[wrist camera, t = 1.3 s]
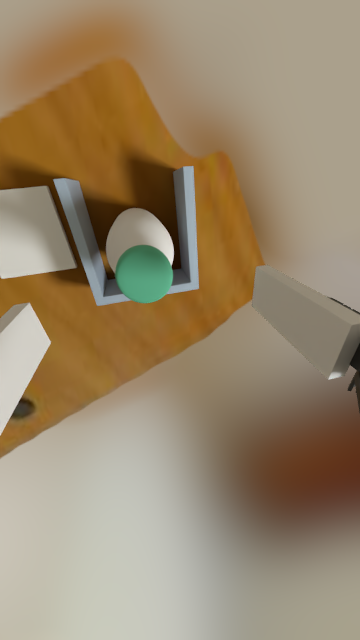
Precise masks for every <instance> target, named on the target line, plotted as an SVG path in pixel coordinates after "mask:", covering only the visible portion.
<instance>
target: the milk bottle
mask: <svg viewBox="0 0 360 640" xmlns="http://www.w3.org/2000/svg"><path fill="white" fill-rule="evenodd" d="M106 254H107V259H108V262H109V264H110V266H111V268H112V270H113V271H114V273H115V278H116V283H117V285H118V287H119V289H120V290H121V292H122V293H123V294H124V295H125V296H126V297H127V298H129V299H131V300H133V301H135V302H139V303H151V302H154V301H157V300H159V299H161V298H162V297H163V296H164V295H165V294H166V293H167V292H168V291H169V289H170V287H171V284H172V281H173V270H172V267H171V266H172V263H173V258H174V248H173V243H172V239H171V237H170V235H169V233H168V231H167V230H166V228H165V227H164V226H163V224H162V223H161V222H160V221H159V220H158V219H157V218H156V217H155V216H154V215H153V214H152V213H150V212H149V211H147V210H144V209H141V208H131V209H128V210H125V211H124V212H122V213H121V214H120V215H119V216H118V217H117V218H116V220H115V221H114V223H113V225H112V227H111V229H110V231H109V234H108V237H107V241H106Z"/></svg>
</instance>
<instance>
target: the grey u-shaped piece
mask: <svg viewBox="0 0 360 640" xmlns="http://www.w3.org/2000/svg"><path fill="white" fill-rule="evenodd" d="M173 178H174V190H175V201H176V212H177V223H178V235H179V246H180V257H181V269H175V270H173V281H172V284H171V287H170V289H169V291H168V292H167V293H166V294H171V293H177V292H183V291H188V290H194V289H199V281H198V259H197V236H196V214H195V191H194V169H193V166H187V167H182V168H180V169H178V170H176V171H174V172H173ZM53 180H54V183H55V186H56V189H57V192H58V195H59V197H60V200H61V203H62V206H63V209H64V212H65V215H66V218H67V220H68V223H69V226H70V229H71V232H72V235H73V238H74V240H75V243H76V246H77V249H78V252H79V255H80V258H81V261H82V263H83V266H84V269H85V272H86V275H87V278H88V281H89V283H90V286H91V289H92V292H93V295H94V298H95V301H96V304H97V306H100V305H106V304H111V303H117V302H123V301H129V300H131V299H129V298H127V297H126V296H125V295H124V294H123V293H122V292H121V290H120V289H119V287H118V285H117V283H116V279H111V280H108V279H107V275H106V272H105V269H104V265H103V262H102V258H101V255H100V252H99V248H98V245H97V241H96V238H95V235H94V231H93V228H92V224H91V221H90V218H89V214H88V211H87V207H86V204H85V201H84V197H83V194H82V190H81V187H80V184H79V181H76V180H71V179H66V178H61V179H53Z"/></svg>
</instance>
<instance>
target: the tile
mask: <svg viewBox="0 0 360 640" xmlns="http://www.w3.org/2000/svg"><path fill="white" fill-rule="evenodd" d="M77 267H78V266H77V263H76V261H75V258H74V255H73V252H72V250H71V247H70V244H69V241H68V239H67V236H66V233H65V230H64V228H63V225H62V222H61V219H60V217H59V214H58V211H57V208H56V206H55V203H54V200H53V198H52V195H51V192H50V189H49V187H48V186H39V187H29V188H19V189H9V190H0V276H1V278H2V279H4V278H11V277H18V276H25V275H32V274H39V273H45V272H52V271H59V270H66V269H73V268H77Z"/></svg>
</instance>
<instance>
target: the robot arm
mask: <svg viewBox="0 0 360 640" xmlns="http://www.w3.org/2000/svg"><path fill="white" fill-rule="evenodd" d="M252 307H253V308H254V309H255V310H256V311H257V312H259V313H260V314H261V315H262V316H263V317H264V318H265V319H266V320H267V321H268V322H269V323H270V324H271V325H272V326H273V327H274V328H275V329H276V330H277V331H278V332H279V333H280V334H281V335H282V336H284V337H285V339H287V340H288V341H289V342H290V343H291V344H292V345H293V346H294V347H295V348H296V349H297V350H298V351H299V352H300V353H301V354H302V355H303V356H304V357H305V358H306V359H307V360H308V361H309V362H310V363H311V364H313V365H314V366H315V367H316V368H317V369H318V370H319V371H320V372H321V373H322V374H323V375H324V376H325V377H326V378H327V379H333V378H337V377H341V376H345V373H346V372H347V370H348V368H349V366H350V365H351V366H352V367H353V368H355V369H356V370H357V372H356V373H355V375H354V377H353V379H352V381H351V383H350V385H349V387H348V391H351V390H352V388H353V387H355V386H356V393H357V399H358V406H359V412H360V313H359V312H357V311H356V310H354V309H353V310H352V309H351V308H350V307H348V306H346V305H343V304H342V303H341V302H339V301H337V300H335V299H333V298H329V297H326V296H324V295H322V294H320V293H319V292H317V291H315V290H313V289H311V288H309V287H307V286H306V285H304V284H302V283H300V282H298V281H296V280H294V279H293V278H291V277H289V276H287V275H285V274H284V273H281V272H280V271H278V270H276V269H274V268H273V267H271V266H269V265H265V266H258V267H256V273H255V282H254V291H253V300H252ZM50 343H51V342H50V340H49V338H48V336H47V334H46V332H45V331H44V329H43V327H42V325H41V323H40V321H39V320H38V318H37V316H36V314H35V312H34V310H33V309H32V307H31V305H30V303H24V304H18V305H14V306H13V307H12V308H11V309H10V310H9V311H7V312H6V313H5V314H4V315H3V316H2V317H1V318H0V435H1V433H2V431H3V429H4V428H5V426H6V424H7V422H8V420H9V418H10V417H11V415H12V413H13V411H14V409H15V407H16V406H17V404H18V402H19V400H20V398H21V396H22V395H23V393H24V391H25V389H26V387H27V385H28V384H29V382H30V380H31V378H32V376H33V374H34V373H35V371H36V369H37V367H38V365H39V363H40V362H41V360H42V358H43V356H44V354H45V352H46V351H47V349H48V347H49V345H50Z"/></svg>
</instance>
